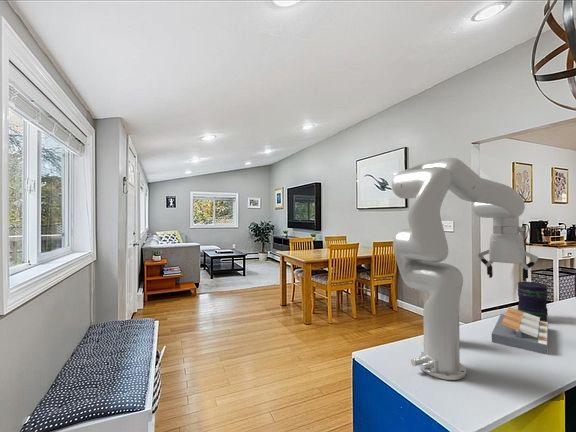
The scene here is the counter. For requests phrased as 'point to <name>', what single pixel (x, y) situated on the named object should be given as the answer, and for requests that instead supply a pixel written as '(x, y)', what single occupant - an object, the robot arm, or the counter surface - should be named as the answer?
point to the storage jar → (533, 299)
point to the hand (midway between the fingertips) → (507, 278)
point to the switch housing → (521, 337)
